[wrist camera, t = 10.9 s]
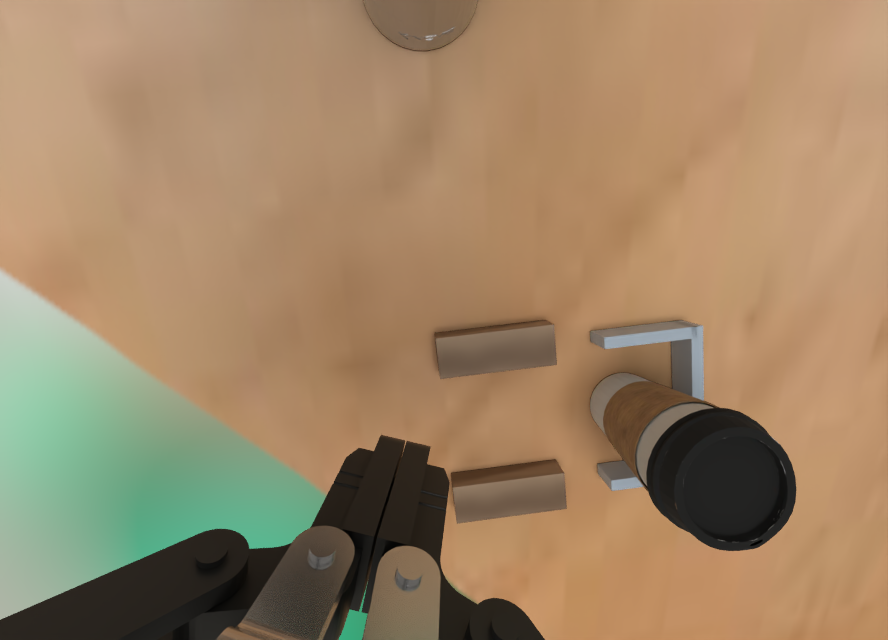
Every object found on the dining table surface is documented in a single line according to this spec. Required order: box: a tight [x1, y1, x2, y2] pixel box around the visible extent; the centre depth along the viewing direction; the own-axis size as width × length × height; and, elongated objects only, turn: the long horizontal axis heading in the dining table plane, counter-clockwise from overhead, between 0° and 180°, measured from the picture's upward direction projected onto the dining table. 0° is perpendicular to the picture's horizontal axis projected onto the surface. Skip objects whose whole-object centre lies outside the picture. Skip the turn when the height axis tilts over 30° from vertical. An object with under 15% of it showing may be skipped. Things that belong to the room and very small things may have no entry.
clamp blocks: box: [435, 320, 567, 523], centre depth 38 cm, size 17×10×2 cm, turn 6°
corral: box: [590, 320, 704, 491], centre depth 38 cm, size 14×8×3 cm, turn 6°
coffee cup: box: [590, 373, 796, 551], centre depth 32 cm, size 8×8×15 cm
